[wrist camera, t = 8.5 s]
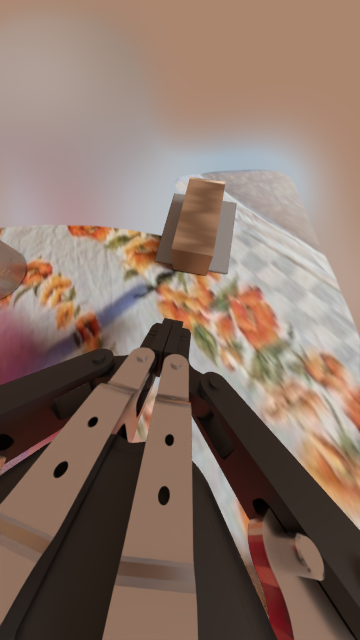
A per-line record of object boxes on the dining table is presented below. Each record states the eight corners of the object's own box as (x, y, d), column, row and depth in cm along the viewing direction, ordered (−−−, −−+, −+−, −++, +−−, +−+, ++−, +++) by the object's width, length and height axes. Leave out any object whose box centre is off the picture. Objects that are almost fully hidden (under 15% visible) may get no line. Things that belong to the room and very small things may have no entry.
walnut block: (171, 248, 16) (190, 176, 19) (172, 269, 20) (188, 207, 23) (213, 255, 16) (225, 182, 19) (206, 275, 20) (217, 211, 23)
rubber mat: (155, 261, 20) (154, 260, 20) (174, 195, 24) (174, 193, 24) (226, 274, 20) (227, 273, 20) (235, 204, 23) (236, 203, 23)
